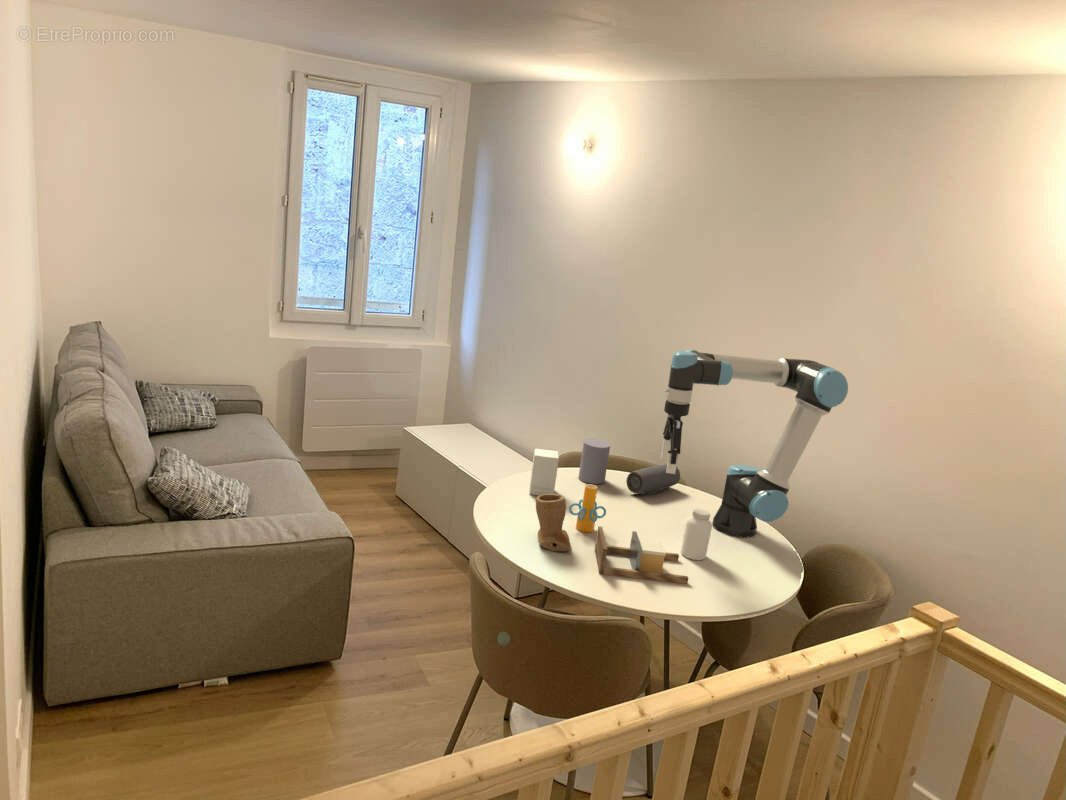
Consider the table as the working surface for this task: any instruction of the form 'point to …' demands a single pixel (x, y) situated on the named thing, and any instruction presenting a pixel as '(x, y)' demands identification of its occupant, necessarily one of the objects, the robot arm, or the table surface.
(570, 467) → the table surface
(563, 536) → the brown felt boot
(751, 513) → the robot arm
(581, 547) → the table surface
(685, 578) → the lane
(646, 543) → the cream cube
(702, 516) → the pill bottle
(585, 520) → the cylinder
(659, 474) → the bluetooth speaker
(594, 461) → the container
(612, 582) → the table surface
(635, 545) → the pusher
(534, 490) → the supplement box
